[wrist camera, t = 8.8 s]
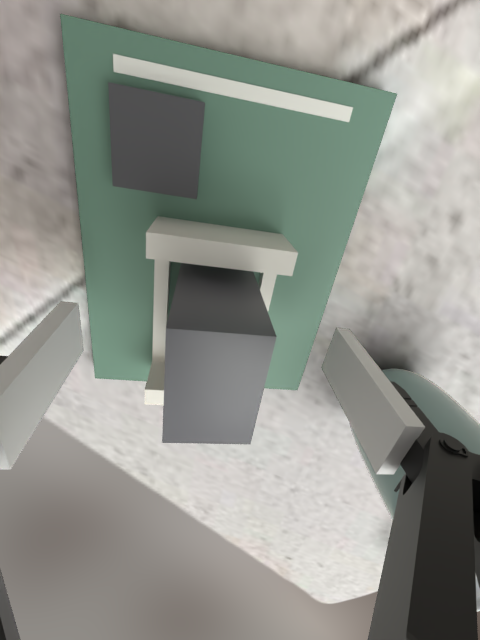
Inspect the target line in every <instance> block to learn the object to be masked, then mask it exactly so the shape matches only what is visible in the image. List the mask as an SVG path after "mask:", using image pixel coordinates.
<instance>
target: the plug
mask: <svg viewBox="0 0 480 640" xmlns="http://www.w3.org/2000/svg"><path fill="white" fill-rule="evenodd" d="M276 337H277V336H276V334H275V331H274V328H273V325H272V322H271V320H270V317H269V314H268V311H267V309H266V306H265V303H264V300H263V297H262V295H261V292H260V289H259V286H258V284H257V281H256V278H255V275H254V273H253V271H245V270H237V269H228V268H220V267H212V266H204V265H196V264H188V263H181V266H180V270H179V274H178V279H177V283H176V287H175V292H174V296H173V300H172V304H171V309H170V313H169V317H168V321H167V326H166V341H165V374H164V406H163V439H162V443H210V444H250V443H251V439H252V435H253V431H254V427H255V423H256V419H257V415H258V411H259V407H260V403H261V398H262V394H263V390H264V386H265V382H266V378H267V374H268V370H269V366H270V362H271V358H272V354H273V350H274V346H275V341H276Z"/></svg>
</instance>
